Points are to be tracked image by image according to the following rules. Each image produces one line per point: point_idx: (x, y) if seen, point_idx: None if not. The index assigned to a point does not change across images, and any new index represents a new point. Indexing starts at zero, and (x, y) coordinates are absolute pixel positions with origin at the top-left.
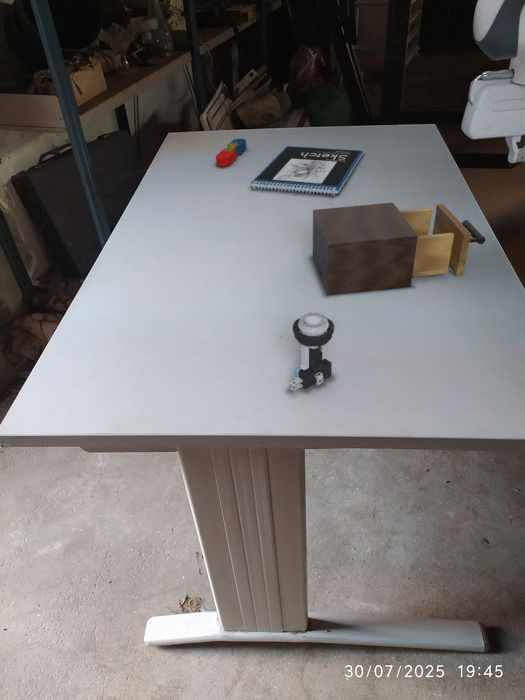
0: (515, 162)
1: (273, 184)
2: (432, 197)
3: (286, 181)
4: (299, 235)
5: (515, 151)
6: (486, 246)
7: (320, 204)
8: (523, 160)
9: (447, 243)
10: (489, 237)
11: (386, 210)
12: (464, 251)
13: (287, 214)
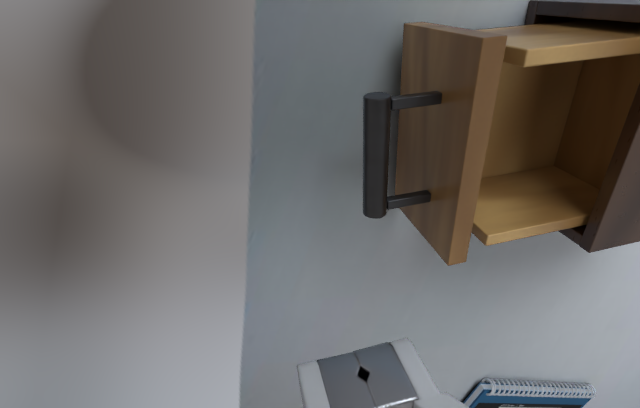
0: (386, 343)
1: (569, 393)
2: None
3: (546, 405)
4: None
5: (444, 402)
6: (270, 199)
7: (517, 350)
8: (343, 360)
9: (521, 43)
10: (248, 243)
11: (635, 204)
12: (455, 29)
13: (583, 313)
